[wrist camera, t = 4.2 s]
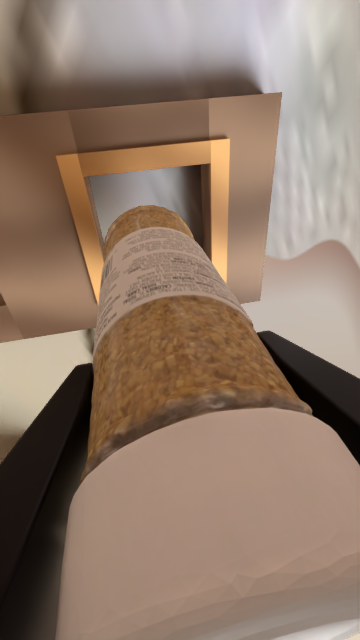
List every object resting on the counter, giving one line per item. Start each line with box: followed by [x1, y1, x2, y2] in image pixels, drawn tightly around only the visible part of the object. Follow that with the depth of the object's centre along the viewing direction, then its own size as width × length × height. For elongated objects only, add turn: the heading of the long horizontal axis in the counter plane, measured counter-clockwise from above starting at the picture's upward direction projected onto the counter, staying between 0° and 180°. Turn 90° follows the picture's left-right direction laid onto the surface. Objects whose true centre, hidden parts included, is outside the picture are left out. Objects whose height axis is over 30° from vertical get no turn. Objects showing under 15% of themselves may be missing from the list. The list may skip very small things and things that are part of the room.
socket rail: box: [0, 92, 282, 343], centre depth 17 cm, size 12×26×2 cm, turn 94°
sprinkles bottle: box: [55, 205, 360, 640], centre depth 9 cm, size 5×5×14 cm
